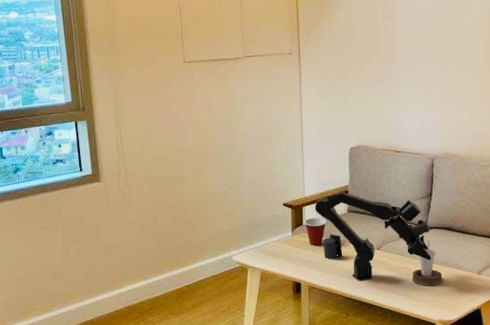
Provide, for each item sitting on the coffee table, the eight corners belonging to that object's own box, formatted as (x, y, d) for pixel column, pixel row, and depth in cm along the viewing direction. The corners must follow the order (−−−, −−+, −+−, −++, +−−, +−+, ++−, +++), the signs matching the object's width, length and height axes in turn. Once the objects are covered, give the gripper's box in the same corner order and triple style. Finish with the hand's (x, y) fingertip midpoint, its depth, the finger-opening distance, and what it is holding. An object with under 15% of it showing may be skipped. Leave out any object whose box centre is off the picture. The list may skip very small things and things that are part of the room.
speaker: (334, 253, 295) (333, 232, 292) (342, 256, 290) (341, 235, 287) (321, 257, 291) (320, 236, 289) (329, 261, 287) (327, 240, 284)
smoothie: (435, 277, 251) (436, 243, 249) (418, 276, 253) (419, 243, 250) (434, 272, 257) (434, 239, 255) (417, 271, 259) (418, 238, 256)
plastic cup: (303, 247, 306) (303, 223, 305) (305, 241, 317) (305, 217, 315) (326, 247, 305) (326, 223, 303) (327, 241, 315) (326, 217, 313)
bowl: (422, 287, 248) (422, 280, 248) (406, 278, 259) (406, 271, 259) (448, 283, 251) (448, 276, 251) (431, 274, 262) (431, 267, 262)
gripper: (417, 221, 243) (446, 250, 242) (417, 209, 261) (444, 237, 260) (395, 240, 247) (424, 269, 245) (397, 227, 264) (424, 254, 263)
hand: (430, 256), depth 253 cm, fingers closed on smoothie, 6 cm apart
